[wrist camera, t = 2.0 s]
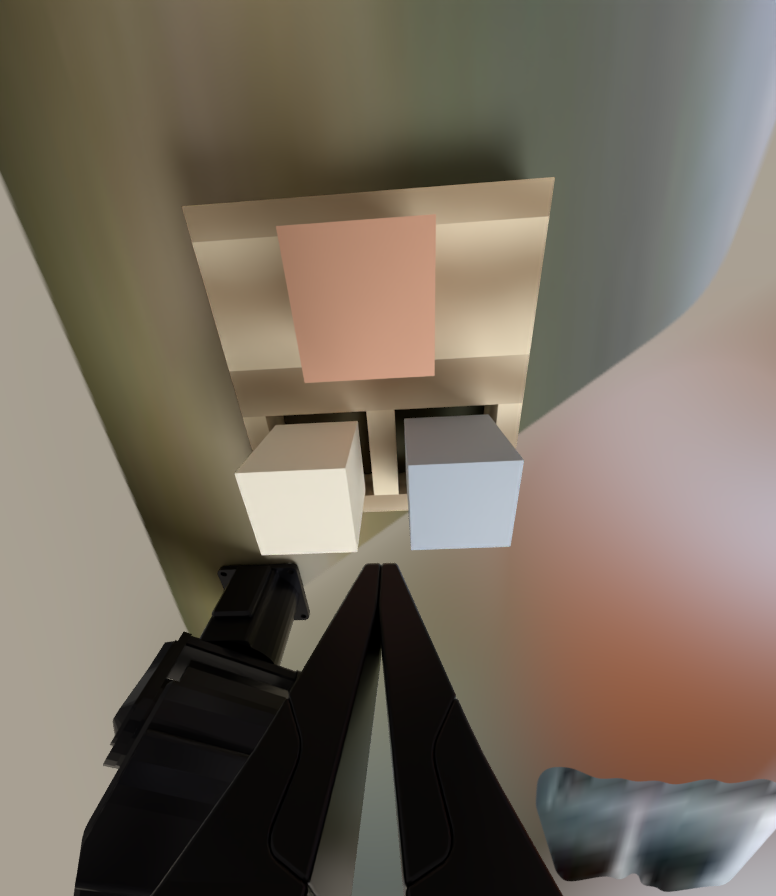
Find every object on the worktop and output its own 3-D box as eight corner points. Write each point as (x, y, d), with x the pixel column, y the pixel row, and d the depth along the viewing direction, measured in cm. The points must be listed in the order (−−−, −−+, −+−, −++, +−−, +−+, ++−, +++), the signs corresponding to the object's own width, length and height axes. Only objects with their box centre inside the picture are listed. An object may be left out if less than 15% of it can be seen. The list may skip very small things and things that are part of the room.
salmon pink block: (421, 350, 15) (434, 375, 11) (330, 355, 15) (304, 382, 11) (421, 239, 13) (436, 213, 9) (315, 247, 13) (275, 226, 9)
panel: (495, 483, 22) (507, 506, 19) (283, 492, 22) (271, 515, 20) (529, 194, 14) (554, 177, 12) (212, 218, 15) (181, 206, 13)
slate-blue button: (481, 484, 19) (510, 546, 14) (406, 488, 19) (411, 549, 14) (488, 414, 17) (523, 460, 12) (403, 418, 17) (408, 465, 12)
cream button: (365, 489, 19) (357, 552, 14) (292, 492, 19) (261, 555, 15) (357, 420, 17) (345, 468, 12) (275, 425, 17) (234, 473, 13)
